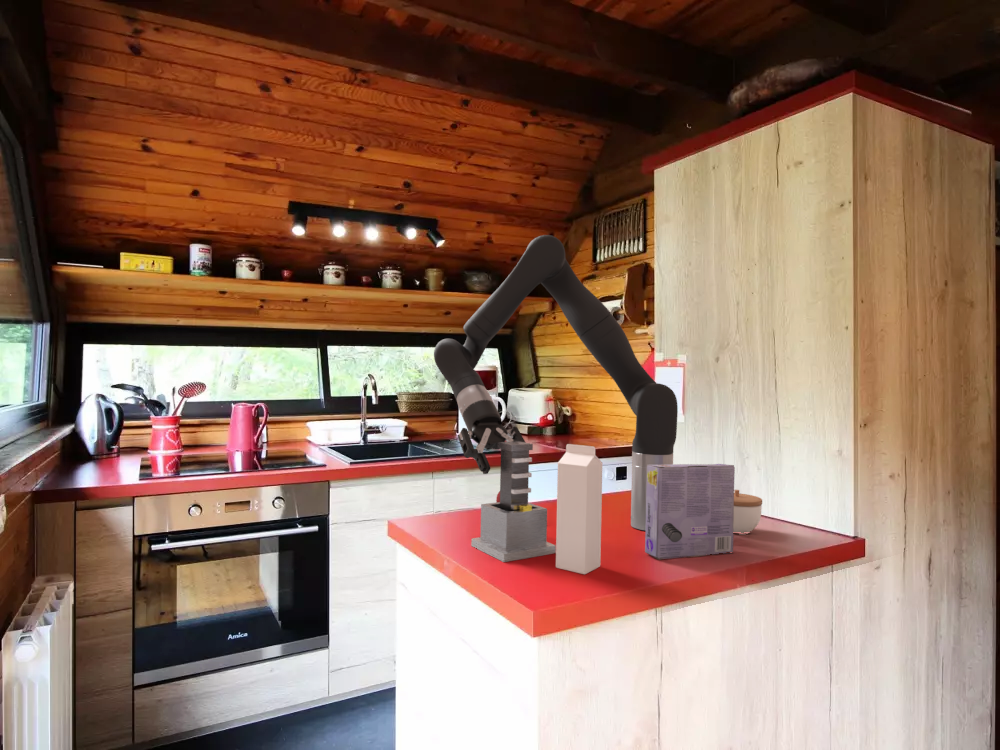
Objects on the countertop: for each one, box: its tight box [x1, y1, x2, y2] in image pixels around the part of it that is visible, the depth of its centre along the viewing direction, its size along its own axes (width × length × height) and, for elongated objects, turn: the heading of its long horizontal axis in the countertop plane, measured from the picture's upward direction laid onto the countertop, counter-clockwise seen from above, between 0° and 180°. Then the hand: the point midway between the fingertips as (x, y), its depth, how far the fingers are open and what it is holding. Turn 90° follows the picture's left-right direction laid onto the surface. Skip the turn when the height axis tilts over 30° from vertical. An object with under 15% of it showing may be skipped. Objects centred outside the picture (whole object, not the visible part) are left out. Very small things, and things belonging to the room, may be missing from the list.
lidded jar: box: [733, 489, 763, 533], centre depth 138 cm, size 11×11×9 cm
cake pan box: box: [644, 463, 736, 560], centre depth 119 cm, size 19×5×18 cm, turn 110°
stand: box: [470, 502, 556, 563], centre depth 119 cm, size 12×12×10 cm
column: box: [497, 441, 534, 512], centre depth 119 cm, size 5×6×19 cm
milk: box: [555, 443, 603, 575], centre depth 109 cm, size 6×6×22 cm
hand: (505, 470), depth 122 cm, fingers open, 8 cm apart
